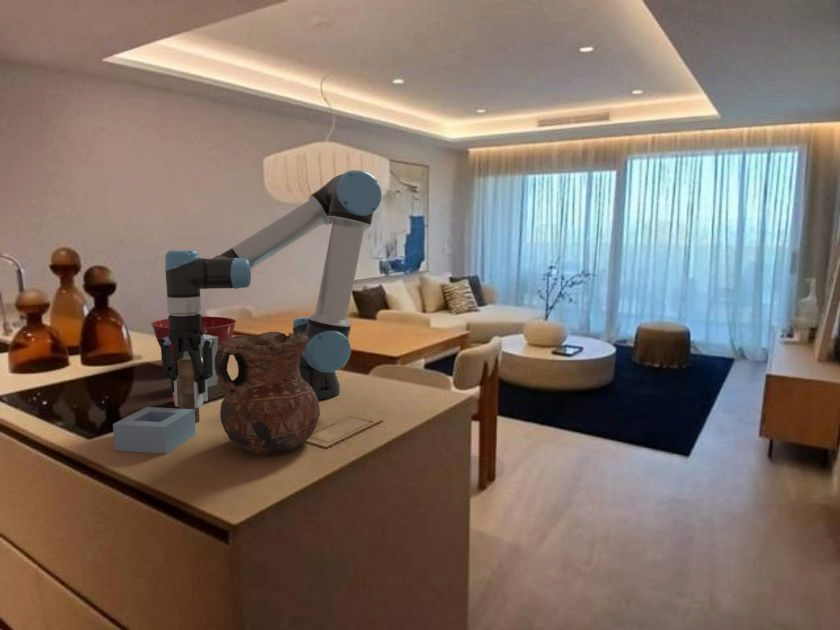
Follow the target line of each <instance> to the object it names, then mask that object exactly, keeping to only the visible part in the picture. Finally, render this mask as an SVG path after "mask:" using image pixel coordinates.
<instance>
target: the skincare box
mask: <svg viewBox="0 0 840 630" xmlns="http://www.w3.org/2000/svg"><path fill="white" fill-rule="evenodd" d="M203 337H205V338H207V339H213V340H214V343H213V346H212V371H213V376H212V377H210V378H208V379H207V389H209V388H211V387H215V386H217V385H218V377H217V375H216V371H215V356H216V352H217V350H218V337H216V336H210V335H203ZM199 348H200V356H201V358H203V356H202V350H203V347H202V342H201V343H200V344H199ZM193 351H194V350H193ZM187 357H190V356H189V354H188V352H187V351H185V352H184V354H183V358H187Z"/></svg>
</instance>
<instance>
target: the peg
mask: <svg viewBox="0 0 840 630" xmlns="http://www.w3.org/2000/svg"><path fill="white" fill-rule="evenodd" d="M177 368H178V387H179V406H178V408H179V409H194V410H195V424H196V423H199V422H200V420H201V419H200V407H198V408H195V403H194V382H195V380H196V376H195V373H194V369H193V365H192V361H191V358H190V357H187V358H182V359H179V360H177Z"/></svg>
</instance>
